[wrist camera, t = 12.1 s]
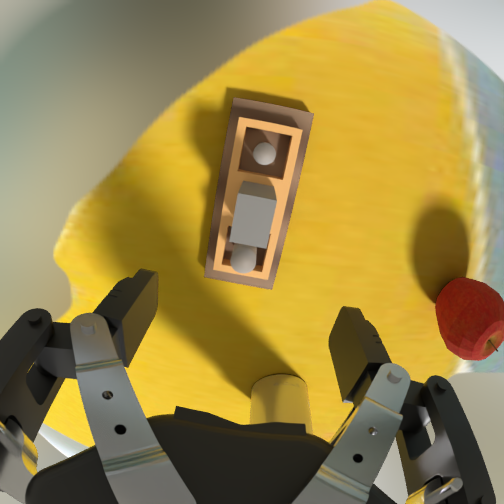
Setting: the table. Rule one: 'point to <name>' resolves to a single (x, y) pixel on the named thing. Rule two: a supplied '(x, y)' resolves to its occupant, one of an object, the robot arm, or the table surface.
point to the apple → (470, 318)
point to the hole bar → (255, 201)
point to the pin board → (265, 162)
